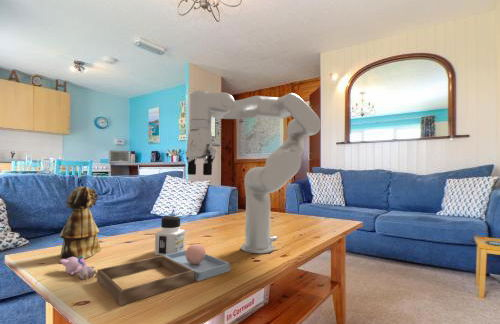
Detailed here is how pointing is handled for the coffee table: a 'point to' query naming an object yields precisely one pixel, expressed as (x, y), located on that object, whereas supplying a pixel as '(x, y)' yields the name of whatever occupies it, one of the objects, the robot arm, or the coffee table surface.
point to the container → (169, 236)
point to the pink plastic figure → (78, 267)
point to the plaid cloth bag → (80, 225)
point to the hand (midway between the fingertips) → (199, 174)
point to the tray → (202, 265)
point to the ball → (195, 254)
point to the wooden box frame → (147, 289)
